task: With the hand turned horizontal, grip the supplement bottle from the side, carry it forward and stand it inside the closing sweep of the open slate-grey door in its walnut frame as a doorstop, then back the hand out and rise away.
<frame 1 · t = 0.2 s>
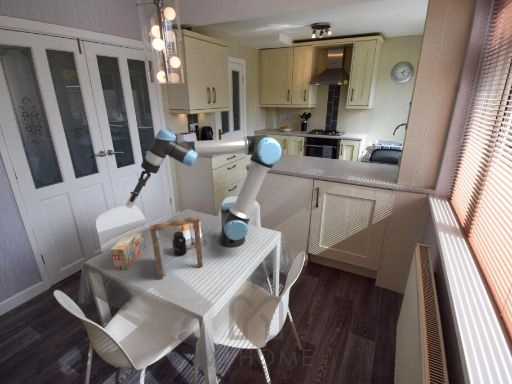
hand: (131, 201, 124), 34 cm above the table, tool tilted 35°, fingers open, 13 cm apart
supplement bottle: (180, 253, 146), on the table
door frame: (165, 276, 127), on the table
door: (158, 251, 130), point 9 cm above the table, hinge at 90.0°
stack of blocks: (131, 258, 142), on the table
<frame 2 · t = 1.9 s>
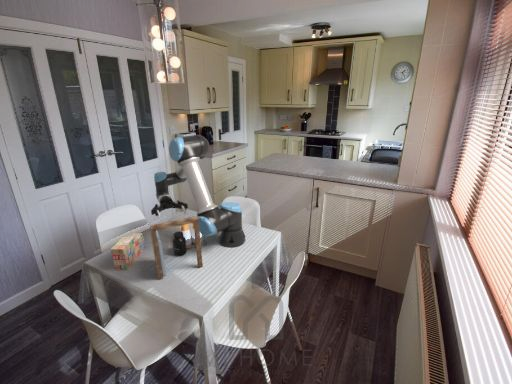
hand: (172, 214, 148), 19 cm above the table, tool horizontal, fingers open, 13 cm apart
nothing on the table moved.
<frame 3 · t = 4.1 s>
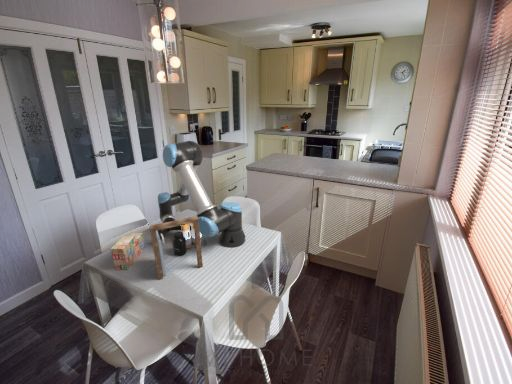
hand: (176, 237, 147), 7 cm above the table, tool horizontal, fingers open, 13 cm apart
nothing on the table moved.
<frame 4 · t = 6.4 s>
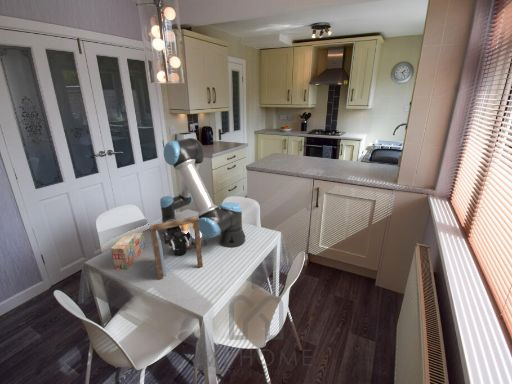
hand: (181, 245, 139), 7 cm above the table, tool horizontal, fingers closed on supplement bottle, 7 cm apart
supplement bottle: (180, 253, 146), on the table, touching gripper
everything else where it was.
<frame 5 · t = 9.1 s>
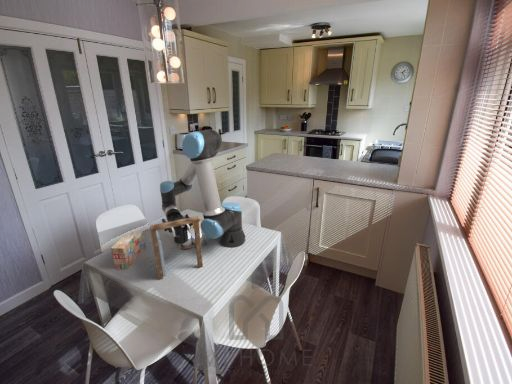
hand: (182, 232, 128), 19 cm above the table, tool horizontal, fingers closed on supplement bottle, 7 cm apart
supplement bottle: (181, 241, 135), point 12 cm above the table, touching gripper
when the fingers open (8 cm above the table, at t = 12.0 s): supplement bottle drops 1 cm, on the table.
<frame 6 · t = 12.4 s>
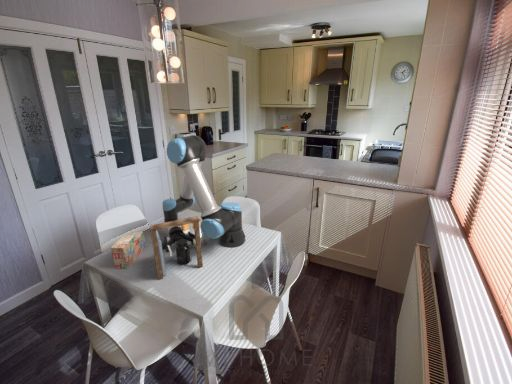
hand: (184, 250, 133), 8 cm above the table, tool horizontal, fingers open, 12 cm apart
supplement bottle: (184, 262, 139), on the table
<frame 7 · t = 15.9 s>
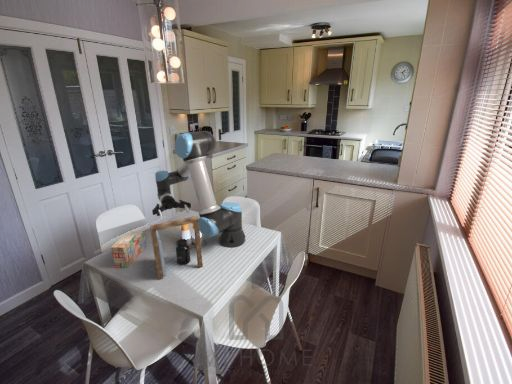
hand: (175, 213, 139), 23 cm above the table, tool horizontal, fingers open, 13 cm apart
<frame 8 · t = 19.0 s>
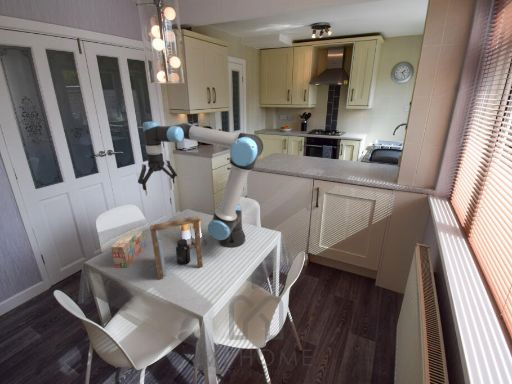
hand: (160, 192, 144), 32 cm above the table, tool pointing down, fingers open, 13 cm apart
at the end: supplement bottle 0.2 cm from the target spot, on the table; supplement bottle tilted 0°; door at +90° (first picture: +90°) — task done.
